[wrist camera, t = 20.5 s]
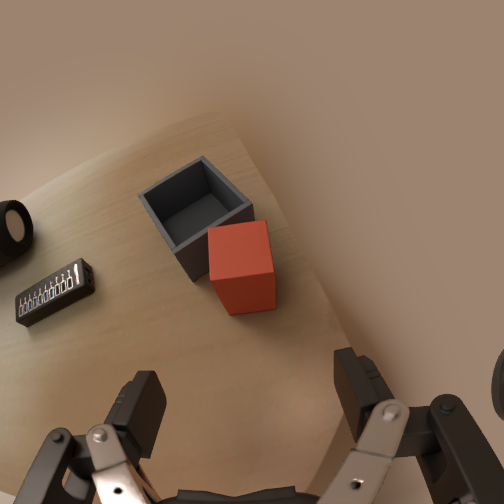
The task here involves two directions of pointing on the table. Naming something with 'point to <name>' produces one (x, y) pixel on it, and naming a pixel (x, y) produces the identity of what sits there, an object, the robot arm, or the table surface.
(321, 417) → the table surface
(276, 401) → the table surface
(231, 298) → the block
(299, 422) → the table surface
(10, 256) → the portable speaker
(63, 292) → the multiport hub
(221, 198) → the tub
